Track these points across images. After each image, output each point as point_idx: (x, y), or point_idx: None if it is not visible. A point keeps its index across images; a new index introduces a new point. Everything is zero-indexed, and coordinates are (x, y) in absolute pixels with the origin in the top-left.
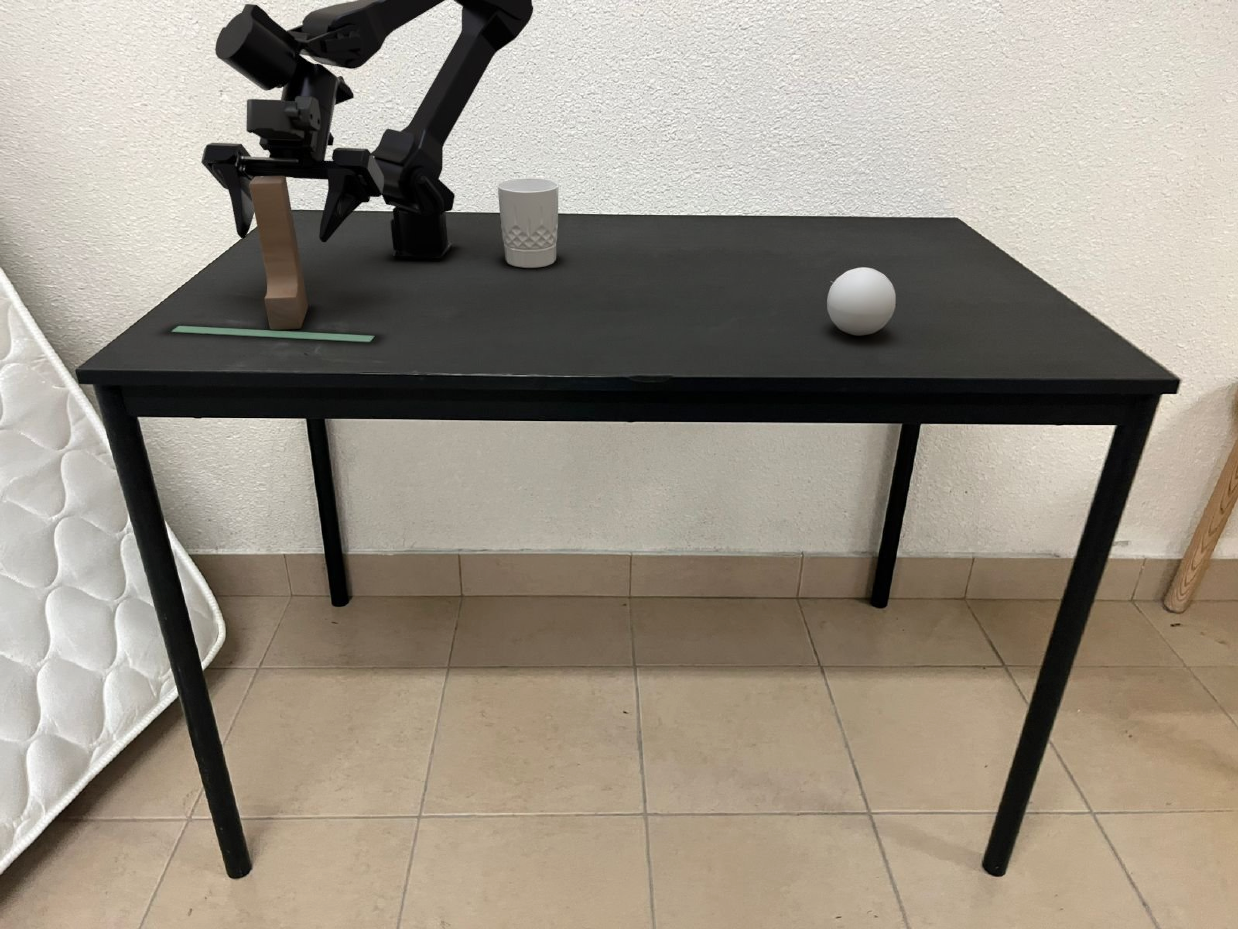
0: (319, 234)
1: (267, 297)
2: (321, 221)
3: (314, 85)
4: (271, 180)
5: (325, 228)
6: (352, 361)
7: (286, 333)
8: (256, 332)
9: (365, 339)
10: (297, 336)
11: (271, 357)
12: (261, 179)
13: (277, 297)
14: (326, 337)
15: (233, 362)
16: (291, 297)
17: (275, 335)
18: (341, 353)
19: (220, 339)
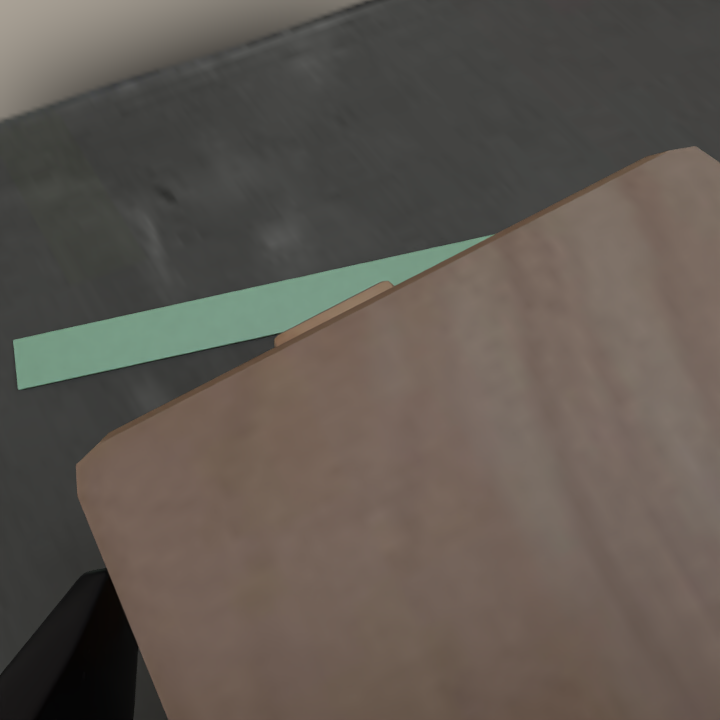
0: (101, 581)
1: (378, 286)
2: (51, 679)
3: None
4: (377, 536)
5: (35, 632)
6: (5, 198)
7: (316, 305)
8: None
9: (32, 350)
10: (266, 297)
11: (254, 140)
12: (711, 561)
13: (342, 307)
14: (166, 320)
15: (341, 73)
16: (288, 332)
17: (342, 278)
18: (64, 237)
19: (503, 198)
